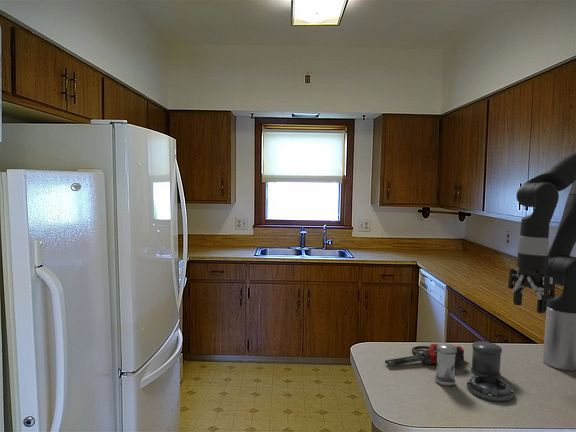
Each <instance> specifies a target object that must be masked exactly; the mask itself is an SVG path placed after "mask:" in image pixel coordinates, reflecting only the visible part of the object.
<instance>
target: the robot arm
mask: <svg viewBox="0 0 576 432" xmlns="http://www.w3.org/2000/svg"><path fill="white" fill-rule="evenodd" d="M568 187H570V189H569V192H568V196H567V198H566V202H565V204H564V209H563V212H562V216H561V219H560V221H559V225H558V228H557V231H556V233H555V236H554V238H553V240H552V243H551V245H550V241H549V240H550V239H549V238H550V235H549V234H550V224H551V221H552V218H553V216H554V213H555V211H556V209H557V205H558V203H559V198H560V197H559V196H560V195H559V192H561V191H564V190H565V189H567V188H568ZM515 198H516V201H517V202H518V203H519V205H521V206H522V207H526V208H533V211H532V213H531V214H529V215H525V216H523V217H522V218H521V221H520V229H519V230H520V231H519V232H520V233H519V234H520V235H519V239H518V245H517V246H518V247H517V259H516V260H517V261H516V267H517V268H510V270H509V275H508V276H509V277H508V285H507V287H508V289H509V290H510V289H511V290H512V292H513V296H512V297H513V300H512V301H513V305H514V306H522V303H523V290H525V289H526V288H529V289H531V290H533V292H534V293H535V294H536V296H537V298H538V299H537V304H536V313H538V314H545V326H544V338H543V340H544V341H543V350H542V351H543V352H542V362H543V364H546V365H547V366H549V367H552V368H555V369H559V370H563V371H571V372H572V371H573V372H574V371H576V256H572V255H571V254H572V252H573V248H574V246H575V245H576V152H574V153H572V154H569V155H568V156H566V157H564V158H561V160H558V162H555V164H554V165H551V167H549V168H548V169H547V171H544V172H542V173H540V174H538V175H536V176H535V177H532V178H530V179H528V180H527V181H525V182H524V183H523V184H521V185H520V187H519V188H518V190H517V192H516V197H515ZM557 285H558V286H561V287H563V288H562V293H561V294H560V295H558V294H557V295H556V286H557Z"/></svg>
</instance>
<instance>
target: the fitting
mask: <svg viewBox="0 0 576 432" xmlns="http://www.w3.org/2000/svg"><path fill="white" fill-rule="evenodd" d="M437 344H438V345H437V350H438V352H437V363H436V372H435V373H436V375H435V377H434V381H435V383H437V384H438V385H441V386H442V387H443V386H444V387H452V386H455V384H456V379H455V374H456V371H455V370H456V368H455V357H456V353H457V348H456V347H455V345H453V344H450V343H446V342H445V343H442V342H441V343H437Z"/></svg>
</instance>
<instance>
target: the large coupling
mask: <svg viewBox="0 0 576 432" xmlns="http://www.w3.org/2000/svg"><path fill="white" fill-rule="evenodd" d="M471 348H472V360H471V367H470V372H471V373H472V375H473V376H475V375H481V374H482V375H483V374H484V375H489V376H494V377H497V378H500V379H501V358H502V357H501V356H502V353H503V348H502V347H501V346H500V345H498V344H496V343H493V342H489V341H475V342H473V343H472V347H471Z"/></svg>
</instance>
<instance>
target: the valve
mask: <svg viewBox="0 0 576 432" xmlns="http://www.w3.org/2000/svg"><path fill="white" fill-rule="evenodd" d="M438 344H439V343H431V344H430V345H429V346H428V345H418V346H413V347H412V348H411V351H412V354H413V353H414V354H415V355H410V356H404V357H398V358H392V359H391V358H390V359H385V360H384V363H385V364H386V366H387V367H393V366H399V365H404V364H405V365H406V364H410V363H417V362H421V361H422V364H427V365H433V364H437V352H438V350H437V345H438ZM454 346H455V345H454ZM455 347H456V348H457V353H456V357H455V369H459V368H461V367H462V365H463V363H464V361H465V356H464V355H465V350H464V348H463V347H462V346H460V345H456V346H455ZM418 350H424V351H422V352H420V351H418Z"/></svg>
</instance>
